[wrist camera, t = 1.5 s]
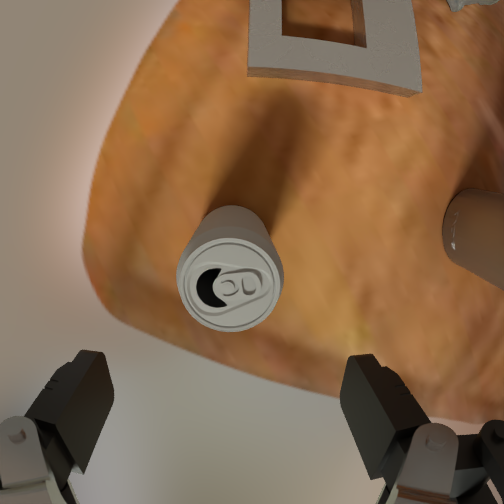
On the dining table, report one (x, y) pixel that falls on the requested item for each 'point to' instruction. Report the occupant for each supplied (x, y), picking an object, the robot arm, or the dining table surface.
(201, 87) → the dining table surface
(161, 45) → the dining table surface
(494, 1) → the incense holder
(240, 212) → the beverage can
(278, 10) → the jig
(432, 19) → the dining table surface
